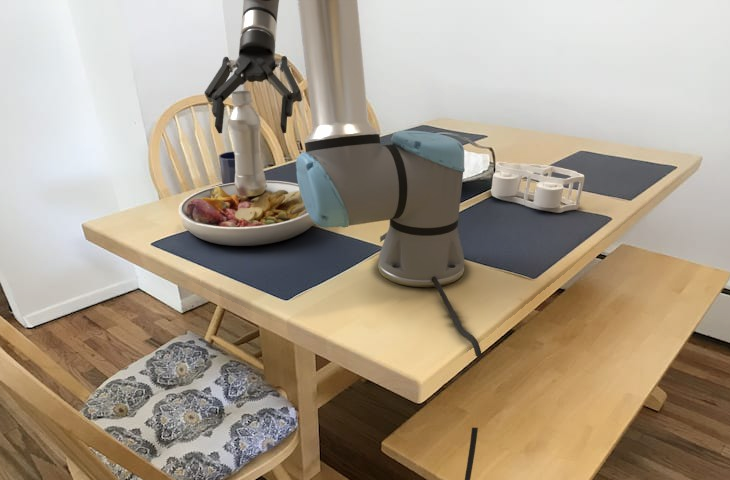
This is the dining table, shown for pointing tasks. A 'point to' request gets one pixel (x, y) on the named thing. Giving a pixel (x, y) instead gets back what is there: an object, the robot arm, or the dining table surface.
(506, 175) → the car outline toy
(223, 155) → the navy cup
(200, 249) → the dining table surface
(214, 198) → the bowl
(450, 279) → the robot arm
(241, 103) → the silver metal bottle
